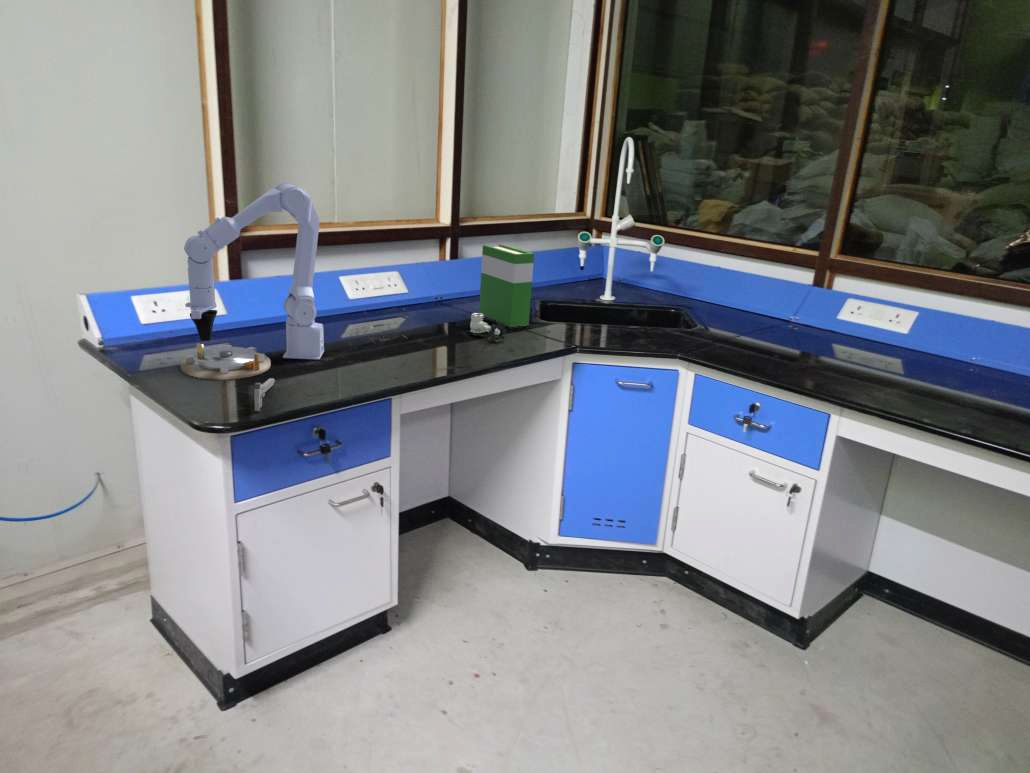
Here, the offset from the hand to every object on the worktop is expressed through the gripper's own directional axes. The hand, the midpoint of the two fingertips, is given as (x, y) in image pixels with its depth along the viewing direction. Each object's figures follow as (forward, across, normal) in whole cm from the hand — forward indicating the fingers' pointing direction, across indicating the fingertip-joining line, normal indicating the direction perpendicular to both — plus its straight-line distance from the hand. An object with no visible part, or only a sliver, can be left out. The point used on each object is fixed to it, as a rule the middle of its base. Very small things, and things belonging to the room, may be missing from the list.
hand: (205, 339), depth 190 cm
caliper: (+6, +23, +18) cm, 30 cm away
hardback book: (+7, -52, +81) cm, 96 cm away
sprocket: (+5, +2, +5) cm, 7 cm away
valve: (+7, -32, +73) cm, 80 cm away
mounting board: (+6, +2, +5) cm, 8 cm away
